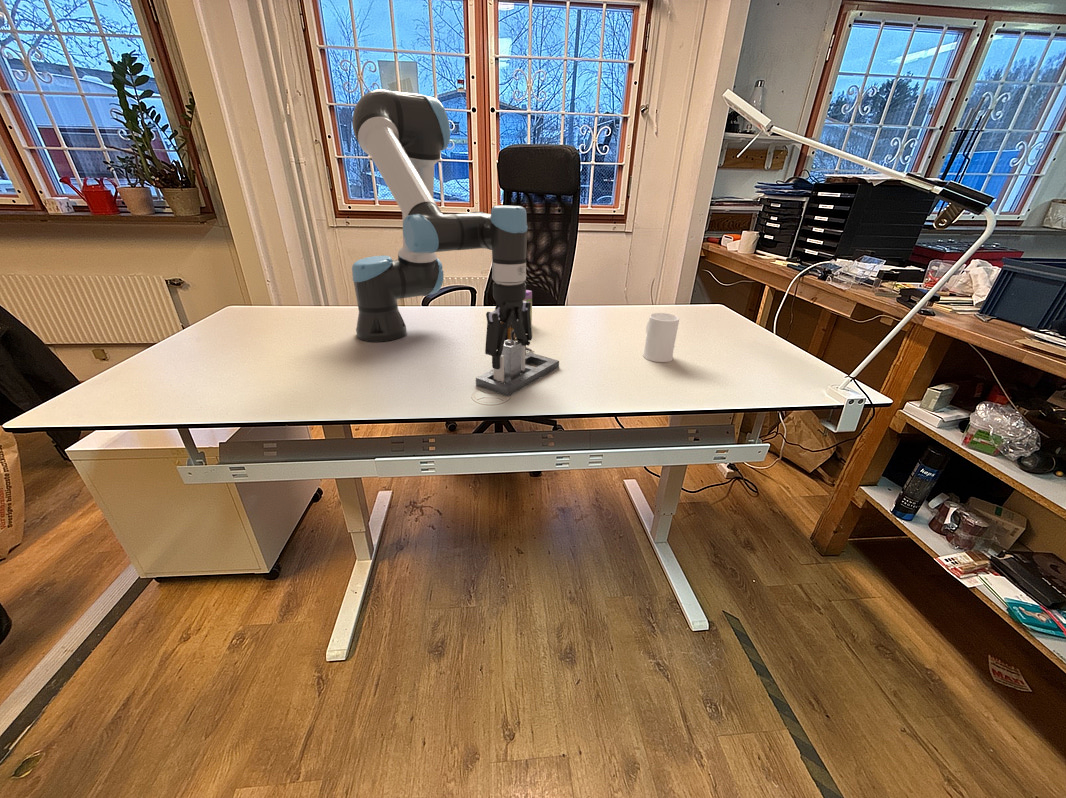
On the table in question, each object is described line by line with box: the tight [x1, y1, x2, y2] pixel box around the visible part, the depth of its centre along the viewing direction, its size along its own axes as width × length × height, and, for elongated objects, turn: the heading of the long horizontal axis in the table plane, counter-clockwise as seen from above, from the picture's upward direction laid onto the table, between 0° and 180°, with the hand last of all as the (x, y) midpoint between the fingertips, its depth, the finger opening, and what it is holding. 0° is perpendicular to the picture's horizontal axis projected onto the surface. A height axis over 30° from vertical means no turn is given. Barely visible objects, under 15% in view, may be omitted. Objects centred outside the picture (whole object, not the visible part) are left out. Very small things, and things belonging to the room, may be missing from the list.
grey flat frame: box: [475, 351, 560, 397], centre depth 108 cm, size 10×22×2 cm, turn 144°
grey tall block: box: [497, 340, 522, 384], centre depth 103 cm, size 4×4×10 cm
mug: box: [642, 312, 680, 363], centre depth 121 cm, size 12×8×12 cm
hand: (509, 374), depth 105 cm, fingers open, 8 cm apart
